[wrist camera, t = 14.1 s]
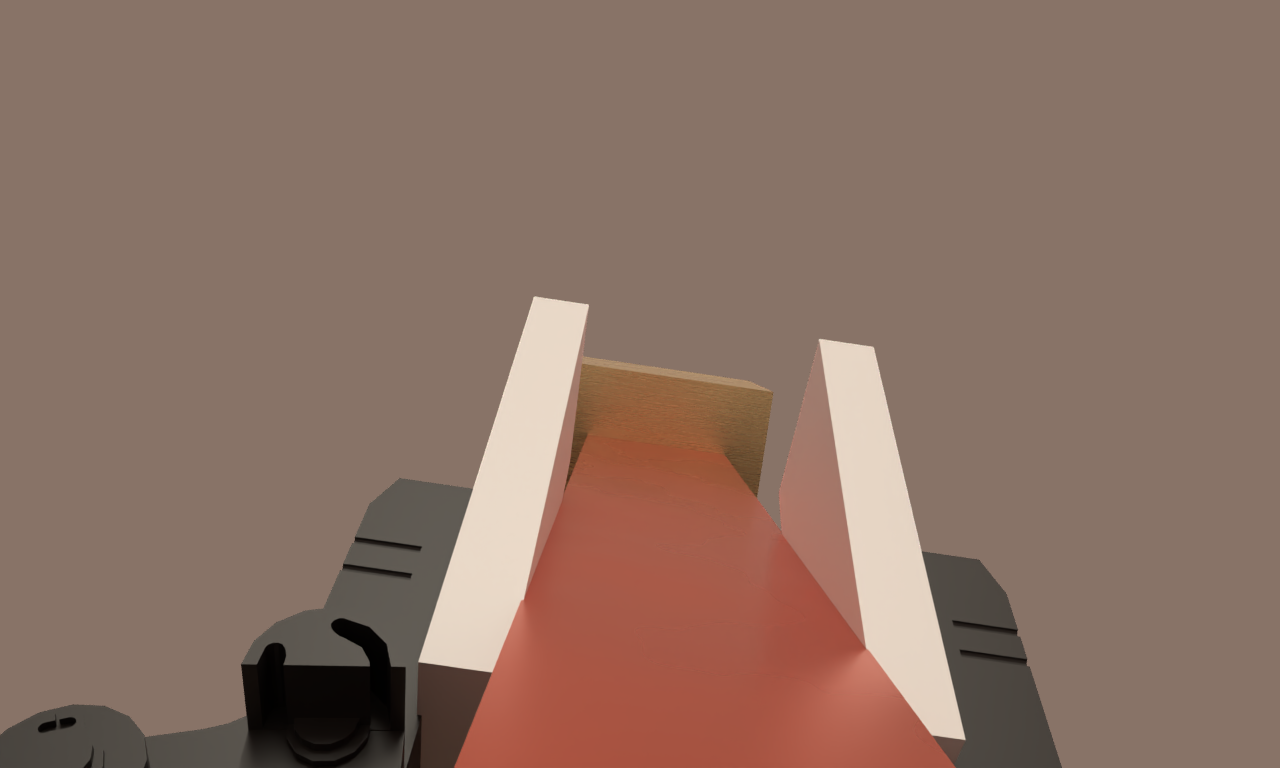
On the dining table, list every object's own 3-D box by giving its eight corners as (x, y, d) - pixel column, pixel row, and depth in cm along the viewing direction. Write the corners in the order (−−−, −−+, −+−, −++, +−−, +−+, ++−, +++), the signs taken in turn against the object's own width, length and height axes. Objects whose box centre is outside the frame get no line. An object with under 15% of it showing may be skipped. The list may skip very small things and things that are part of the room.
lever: (1143, 1354, 6) (1276, 618, 5) (203, 1230, 6) (302, 479, 5) (727, 522, 30) (748, 380, 29) (550, 496, 29) (571, 354, 29)
